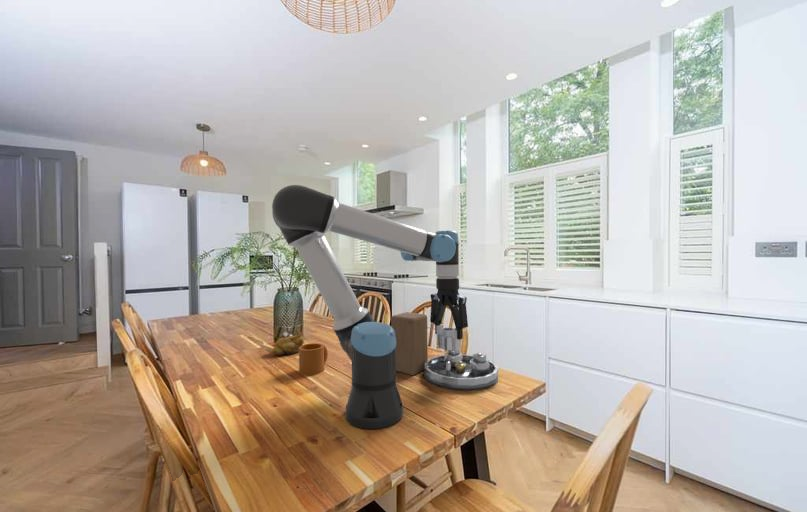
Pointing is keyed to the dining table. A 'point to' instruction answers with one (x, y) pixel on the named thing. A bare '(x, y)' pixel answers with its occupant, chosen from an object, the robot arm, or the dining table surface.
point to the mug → (312, 358)
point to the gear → (446, 339)
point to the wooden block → (410, 342)
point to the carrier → (461, 371)
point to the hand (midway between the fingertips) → (448, 346)
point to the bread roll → (288, 345)
